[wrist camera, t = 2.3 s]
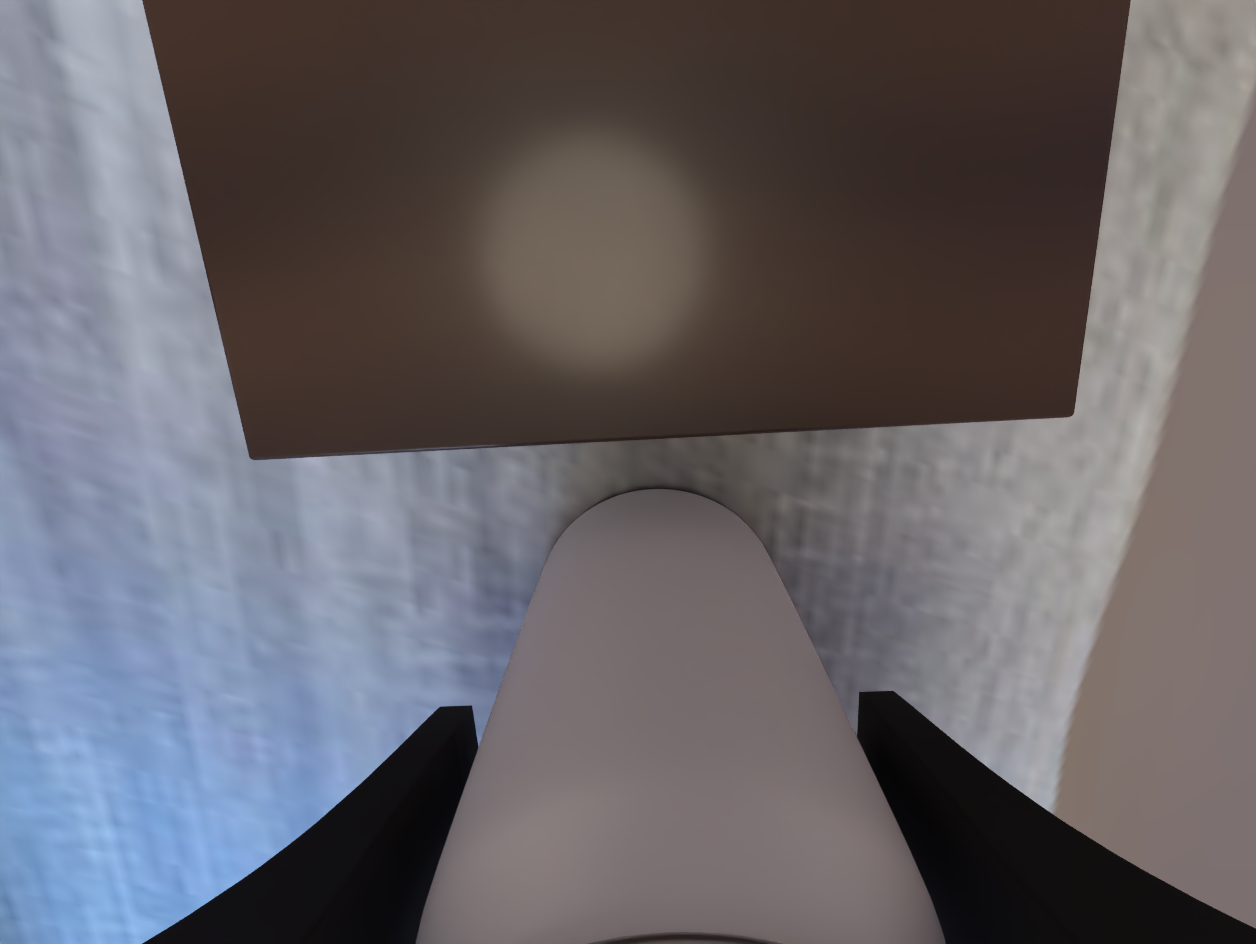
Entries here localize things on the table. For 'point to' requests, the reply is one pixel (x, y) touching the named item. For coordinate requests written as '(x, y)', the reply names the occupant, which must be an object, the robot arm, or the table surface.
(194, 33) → the desk shelf
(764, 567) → the can
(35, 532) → the table surface
